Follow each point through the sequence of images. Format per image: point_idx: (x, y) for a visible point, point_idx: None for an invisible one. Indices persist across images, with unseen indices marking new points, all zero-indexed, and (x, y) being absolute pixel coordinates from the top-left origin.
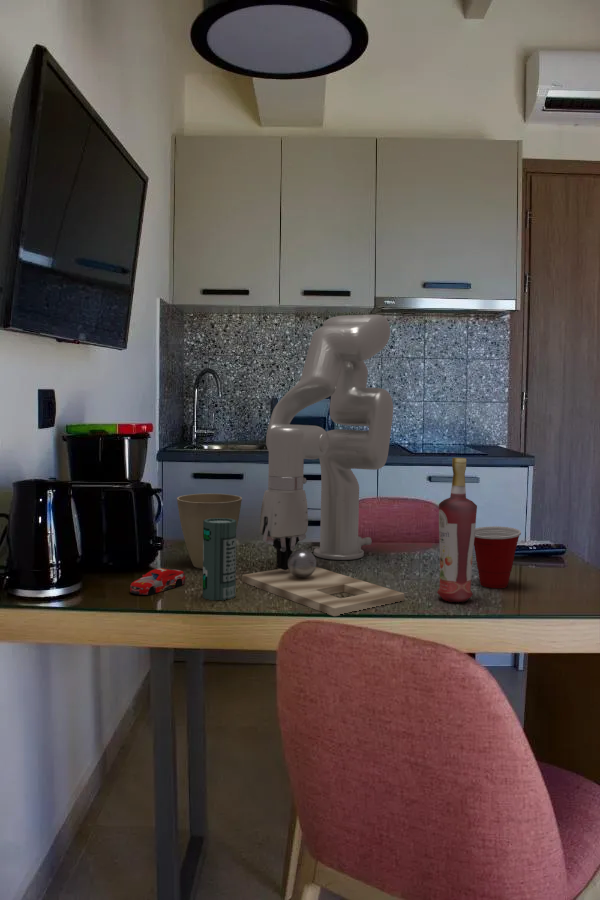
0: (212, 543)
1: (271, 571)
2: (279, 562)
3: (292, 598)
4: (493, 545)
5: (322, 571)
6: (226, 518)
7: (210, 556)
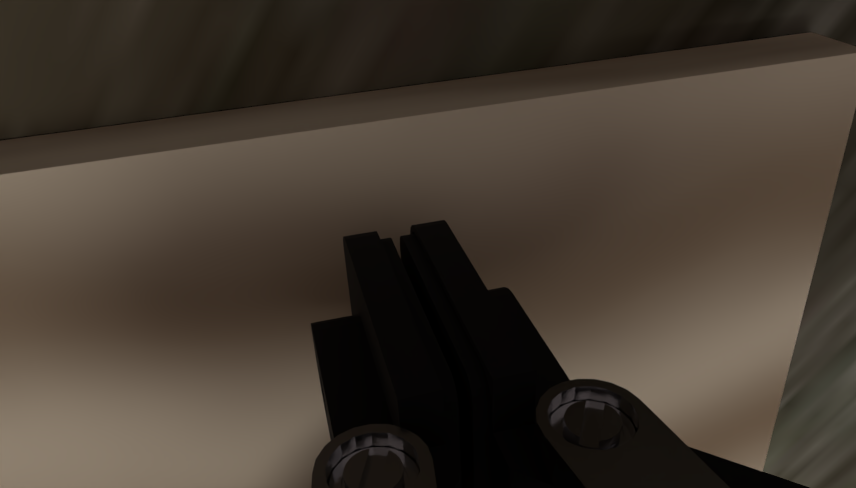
0: None
1: (258, 191)
2: (323, 396)
3: None
4: None
5: (726, 372)
6: None
7: None
